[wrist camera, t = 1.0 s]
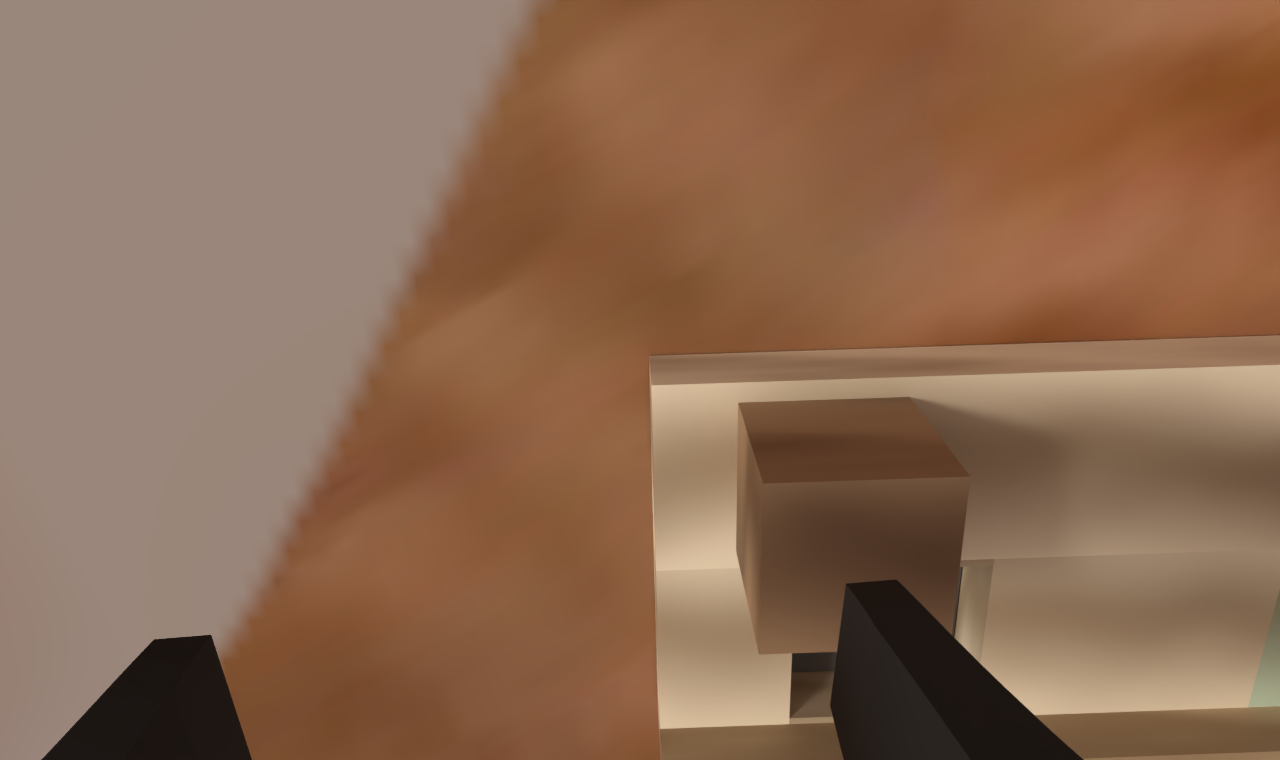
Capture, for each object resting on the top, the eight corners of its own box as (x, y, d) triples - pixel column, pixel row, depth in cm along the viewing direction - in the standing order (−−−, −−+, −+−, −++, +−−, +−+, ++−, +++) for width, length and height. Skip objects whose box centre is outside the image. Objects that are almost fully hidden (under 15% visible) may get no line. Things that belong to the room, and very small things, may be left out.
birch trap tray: (1427, 673, 27) (1540, 765, 24) (657, 701, 27) (662, 798, 24) (1549, 326, 23) (1705, 378, 20) (649, 355, 23) (654, 413, 20)
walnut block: (896, 545, 23) (950, 647, 19) (736, 550, 23) (759, 654, 19) (909, 396, 21) (970, 476, 18) (738, 402, 21) (763, 484, 18)
